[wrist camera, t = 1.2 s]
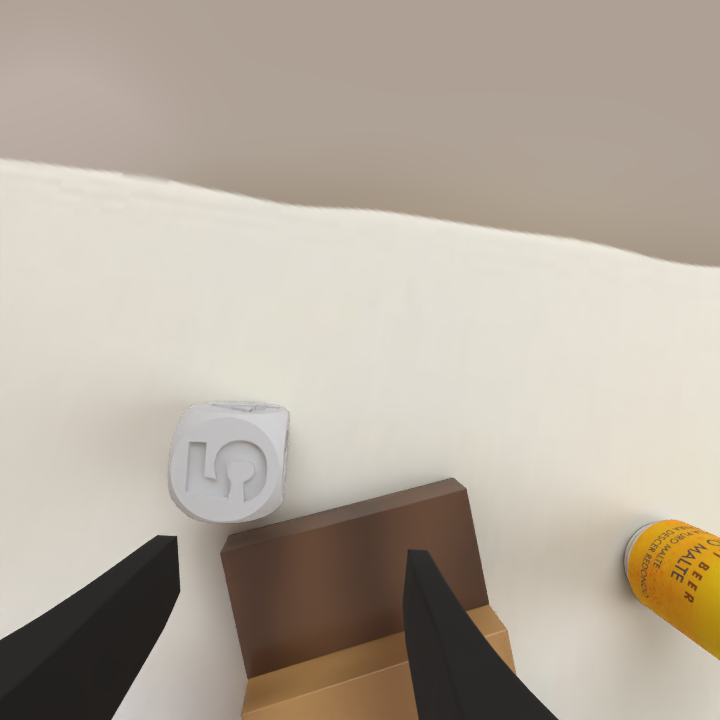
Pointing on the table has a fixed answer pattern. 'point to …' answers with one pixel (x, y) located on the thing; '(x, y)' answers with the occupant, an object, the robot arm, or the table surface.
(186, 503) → the die
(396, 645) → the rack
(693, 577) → the beer can
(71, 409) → the table surface
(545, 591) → the table surface
